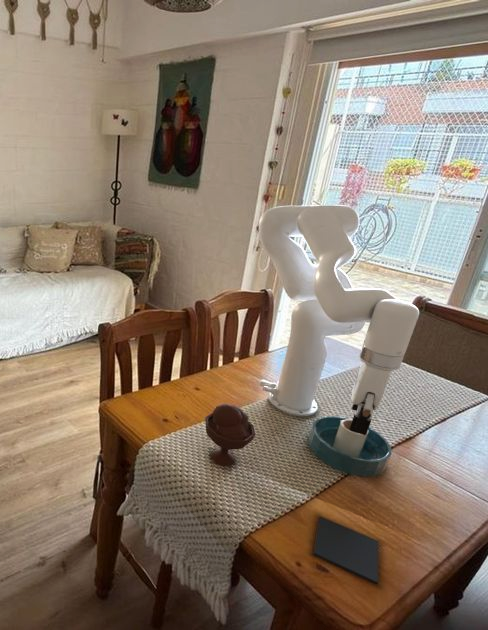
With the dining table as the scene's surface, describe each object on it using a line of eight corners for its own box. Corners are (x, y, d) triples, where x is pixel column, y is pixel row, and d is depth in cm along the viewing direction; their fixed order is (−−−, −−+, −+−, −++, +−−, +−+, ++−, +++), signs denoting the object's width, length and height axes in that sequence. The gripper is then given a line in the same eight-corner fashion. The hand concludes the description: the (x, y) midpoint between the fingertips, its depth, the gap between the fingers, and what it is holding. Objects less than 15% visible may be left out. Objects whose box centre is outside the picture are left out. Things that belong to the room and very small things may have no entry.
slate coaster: (312, 554, 81) (313, 552, 80) (319, 517, 88) (319, 515, 88) (377, 584, 76) (378, 582, 75) (377, 543, 83) (378, 540, 83)
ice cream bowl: (242, 482, 97) (255, 427, 90) (192, 462, 102) (202, 408, 96) (251, 454, 105) (265, 402, 99) (205, 437, 110) (215, 386, 104)
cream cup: (330, 453, 105) (339, 428, 102) (333, 440, 109) (341, 416, 106) (358, 463, 102) (368, 437, 99) (359, 450, 107) (369, 424, 103)
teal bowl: (303, 459, 104) (308, 442, 102) (311, 424, 116) (316, 408, 114) (384, 489, 96) (392, 472, 94) (384, 448, 108) (391, 432, 106)
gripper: (362, 337, 103) (342, 398, 110) (359, 367, 90) (337, 434, 97) (400, 346, 100) (377, 409, 106) (403, 378, 86) (377, 448, 93)
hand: (358, 421), depth 101 cm, fingers open, 9 cm apart
